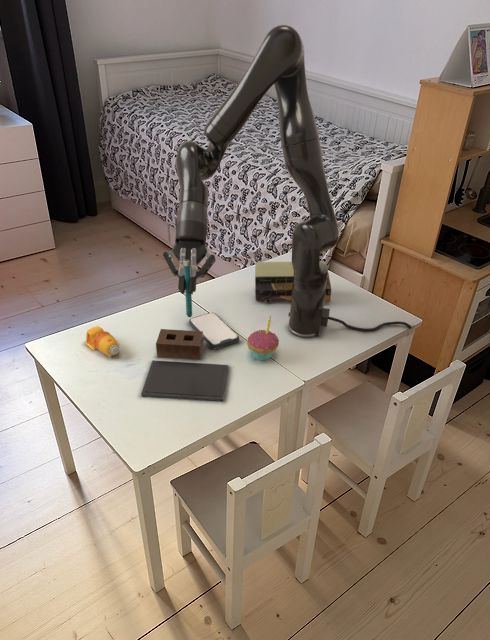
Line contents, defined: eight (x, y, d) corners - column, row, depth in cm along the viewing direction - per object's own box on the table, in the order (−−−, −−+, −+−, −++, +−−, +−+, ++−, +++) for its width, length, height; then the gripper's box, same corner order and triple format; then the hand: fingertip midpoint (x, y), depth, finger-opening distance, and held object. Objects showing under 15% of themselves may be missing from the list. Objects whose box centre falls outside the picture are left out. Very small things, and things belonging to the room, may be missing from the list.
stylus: (192, 314, 139) (190, 258, 129) (192, 317, 138) (189, 261, 128) (187, 314, 139) (183, 258, 129) (186, 317, 138) (182, 261, 128)
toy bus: (330, 305, 167) (332, 276, 161) (255, 305, 168) (255, 276, 161) (327, 288, 175) (329, 260, 169) (255, 289, 175) (255, 261, 169)
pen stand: (203, 344, 150) (203, 331, 147) (200, 359, 144) (199, 346, 141) (162, 342, 150) (160, 328, 147) (157, 357, 145) (155, 343, 142)
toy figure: (125, 355, 145) (101, 336, 151) (123, 338, 141) (98, 319, 148) (108, 363, 142) (84, 343, 148) (105, 347, 138) (80, 326, 145)
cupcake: (264, 342, 151) (266, 306, 144) (284, 357, 146) (287, 320, 139) (240, 353, 147) (241, 316, 139) (260, 369, 142) (261, 331, 134)
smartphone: (187, 323, 158) (212, 351, 147) (186, 319, 157) (212, 346, 146) (214, 315, 162) (240, 342, 151) (213, 311, 161) (240, 337, 150)
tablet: (228, 367, 142) (227, 364, 142) (222, 401, 132) (222, 398, 131) (152, 362, 143) (152, 359, 142) (141, 396, 132) (141, 393, 132)
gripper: (220, 231, 137) (215, 298, 135) (167, 228, 137) (161, 295, 135) (218, 220, 129) (212, 290, 128) (161, 217, 130) (155, 287, 128)
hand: (186, 293), depth 132 cm, fingers closed on stylus, 1 cm apart
